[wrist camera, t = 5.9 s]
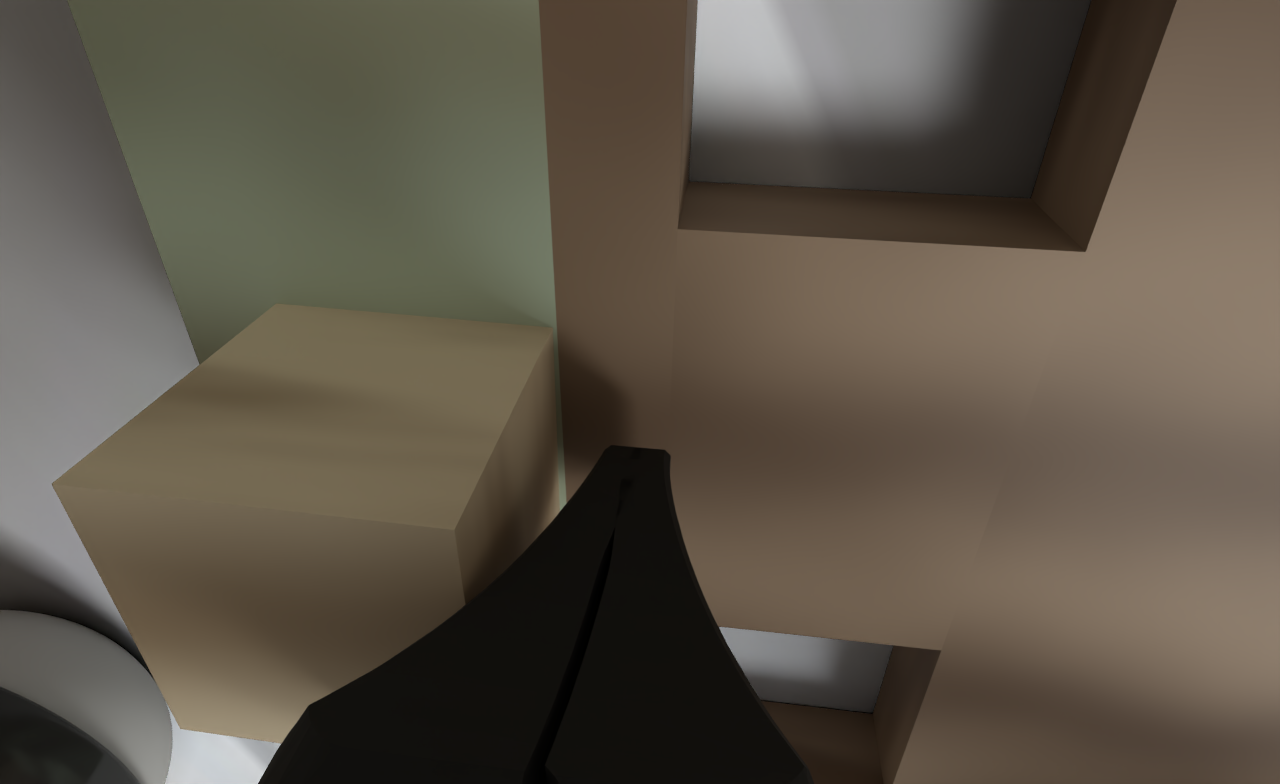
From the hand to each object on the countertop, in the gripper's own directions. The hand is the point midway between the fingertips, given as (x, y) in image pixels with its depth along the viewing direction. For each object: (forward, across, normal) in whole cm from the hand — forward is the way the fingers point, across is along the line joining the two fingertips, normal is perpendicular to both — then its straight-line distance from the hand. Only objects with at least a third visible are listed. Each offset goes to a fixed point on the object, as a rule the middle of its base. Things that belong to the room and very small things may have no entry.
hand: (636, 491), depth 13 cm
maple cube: (+1, +4, 0) cm, 4 cm away
